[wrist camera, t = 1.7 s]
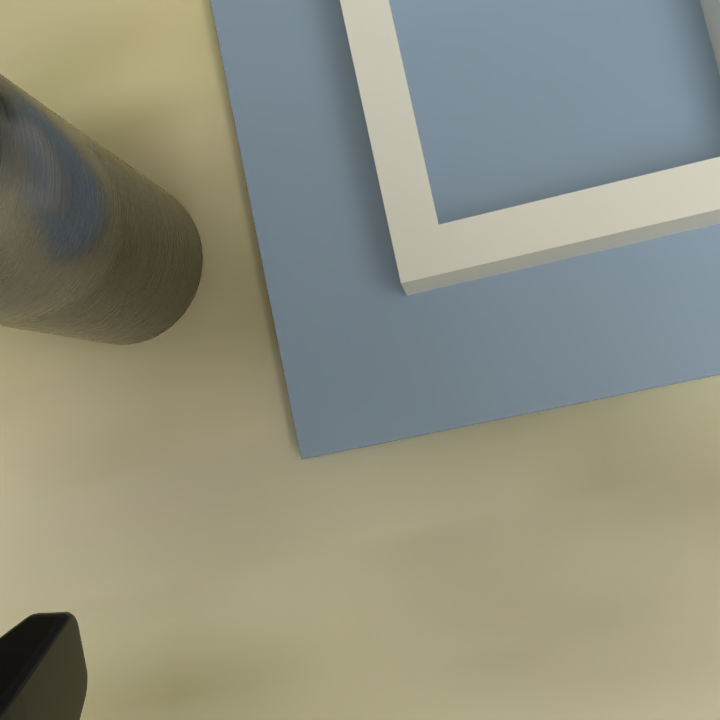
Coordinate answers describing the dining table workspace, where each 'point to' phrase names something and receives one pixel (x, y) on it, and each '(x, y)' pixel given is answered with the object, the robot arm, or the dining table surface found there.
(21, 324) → the shaft
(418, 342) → the blue square board
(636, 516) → the dining table surface
